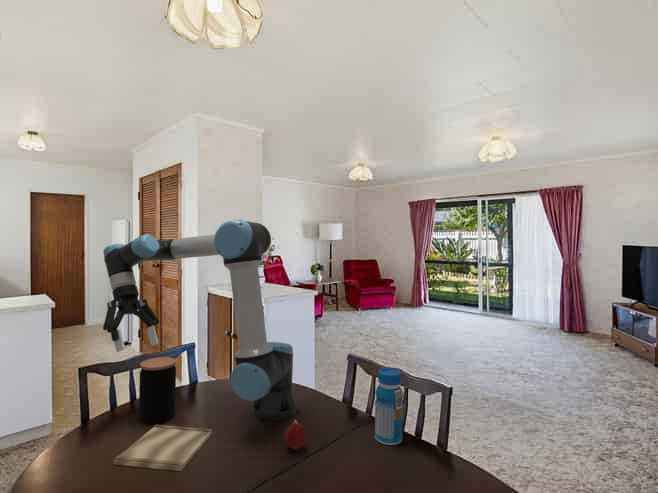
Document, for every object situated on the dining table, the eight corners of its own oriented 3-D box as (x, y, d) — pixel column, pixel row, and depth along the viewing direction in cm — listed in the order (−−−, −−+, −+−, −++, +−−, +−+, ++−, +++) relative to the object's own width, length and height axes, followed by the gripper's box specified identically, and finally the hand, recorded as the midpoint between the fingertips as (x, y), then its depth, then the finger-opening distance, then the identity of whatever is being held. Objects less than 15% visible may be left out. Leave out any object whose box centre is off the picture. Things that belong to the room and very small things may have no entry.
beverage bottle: (376, 446, 103) (377, 376, 103) (372, 431, 111) (373, 366, 111) (405, 446, 103) (407, 376, 103) (399, 431, 111) (401, 366, 112)
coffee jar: (181, 411, 122) (182, 357, 122) (163, 426, 111) (165, 368, 111) (151, 409, 123) (152, 356, 123) (131, 424, 112) (132, 366, 112)
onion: (309, 446, 102) (309, 418, 102) (300, 457, 97) (301, 427, 97) (290, 442, 104) (291, 414, 104) (281, 452, 98) (282, 423, 99)
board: (212, 434, 107) (212, 429, 107) (180, 471, 89) (181, 465, 89) (155, 429, 109) (156, 424, 109) (113, 464, 91) (114, 458, 91)
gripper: (145, 292, 136) (159, 346, 131) (81, 291, 113) (95, 357, 107) (160, 284, 134) (175, 339, 129) (98, 281, 111) (113, 348, 106)
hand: (138, 347), depth 118 cm, fingers open, 13 cm apart
